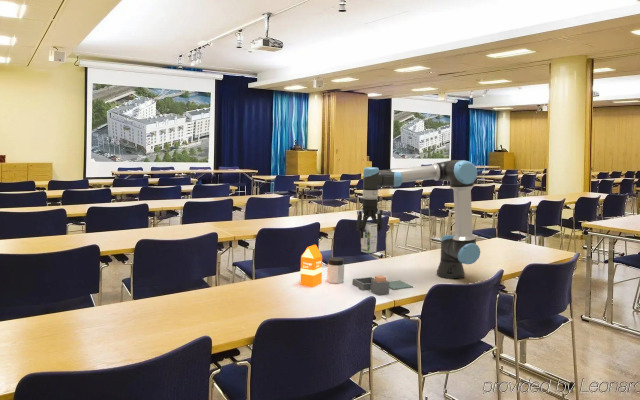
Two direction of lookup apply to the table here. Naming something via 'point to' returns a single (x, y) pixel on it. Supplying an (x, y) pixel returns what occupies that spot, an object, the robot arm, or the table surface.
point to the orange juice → (311, 267)
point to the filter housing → (372, 285)
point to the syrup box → (370, 238)
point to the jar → (335, 270)
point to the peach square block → (380, 278)
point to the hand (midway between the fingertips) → (368, 244)
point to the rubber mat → (398, 285)
